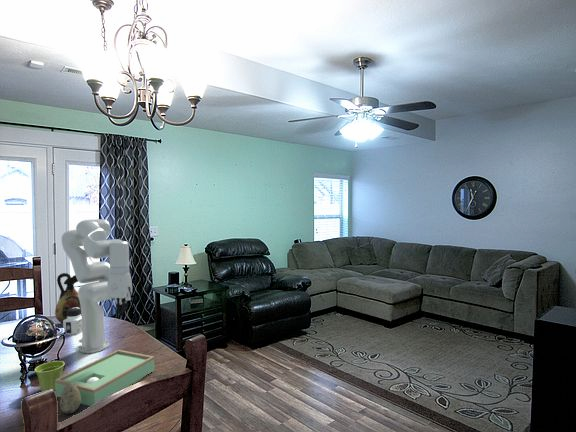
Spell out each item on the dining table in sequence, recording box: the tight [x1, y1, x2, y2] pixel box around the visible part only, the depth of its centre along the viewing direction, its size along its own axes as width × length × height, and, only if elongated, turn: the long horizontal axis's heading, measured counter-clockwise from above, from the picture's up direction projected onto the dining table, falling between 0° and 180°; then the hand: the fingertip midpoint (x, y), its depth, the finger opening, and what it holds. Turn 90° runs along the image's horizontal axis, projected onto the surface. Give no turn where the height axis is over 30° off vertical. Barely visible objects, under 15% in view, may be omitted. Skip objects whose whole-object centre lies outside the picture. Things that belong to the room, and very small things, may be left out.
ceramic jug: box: [54, 272, 82, 327], centre depth 208 cm, size 17×15×30 cm
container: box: [62, 307, 82, 335], centre depth 195 cm, size 8×8×13 cm
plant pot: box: [34, 360, 66, 392], centre depth 135 cm, size 9×9×9 cm
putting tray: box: [54, 349, 156, 407], centre depth 138 cm, size 20×28×6 cm
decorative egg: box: [59, 383, 81, 415], centre depth 119 cm, size 6×6×10 cm
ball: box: [86, 377, 99, 384], centre depth 132 cm, size 5×5×5 cm
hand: (121, 312), depth 153 cm, fingers closed
